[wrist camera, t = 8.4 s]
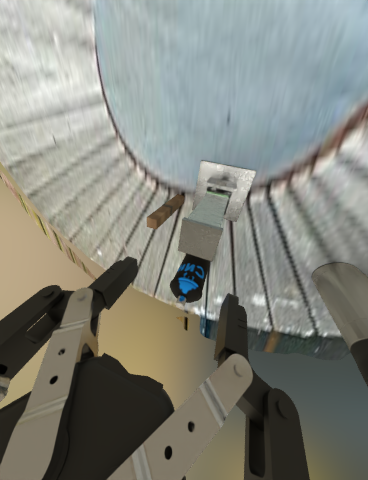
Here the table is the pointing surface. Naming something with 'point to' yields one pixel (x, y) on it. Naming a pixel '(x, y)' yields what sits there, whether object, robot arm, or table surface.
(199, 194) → the stand base
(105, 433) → the robot arm
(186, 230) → the grey-green long block
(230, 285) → the table surface
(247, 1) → the table surface
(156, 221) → the banded wooden rod
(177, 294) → the aerosol can
